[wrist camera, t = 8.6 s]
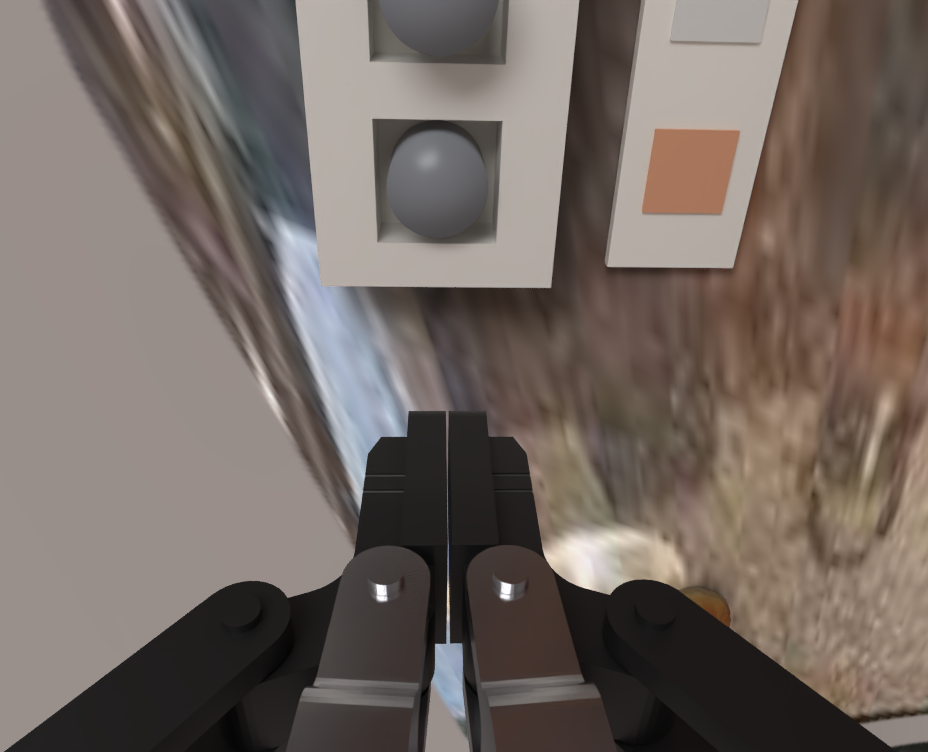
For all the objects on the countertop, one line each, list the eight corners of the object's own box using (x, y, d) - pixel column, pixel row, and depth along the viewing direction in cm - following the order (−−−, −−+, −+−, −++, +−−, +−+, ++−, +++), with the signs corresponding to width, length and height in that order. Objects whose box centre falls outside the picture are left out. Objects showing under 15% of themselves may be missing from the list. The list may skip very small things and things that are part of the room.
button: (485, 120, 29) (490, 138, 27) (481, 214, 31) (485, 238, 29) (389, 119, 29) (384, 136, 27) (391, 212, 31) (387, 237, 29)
